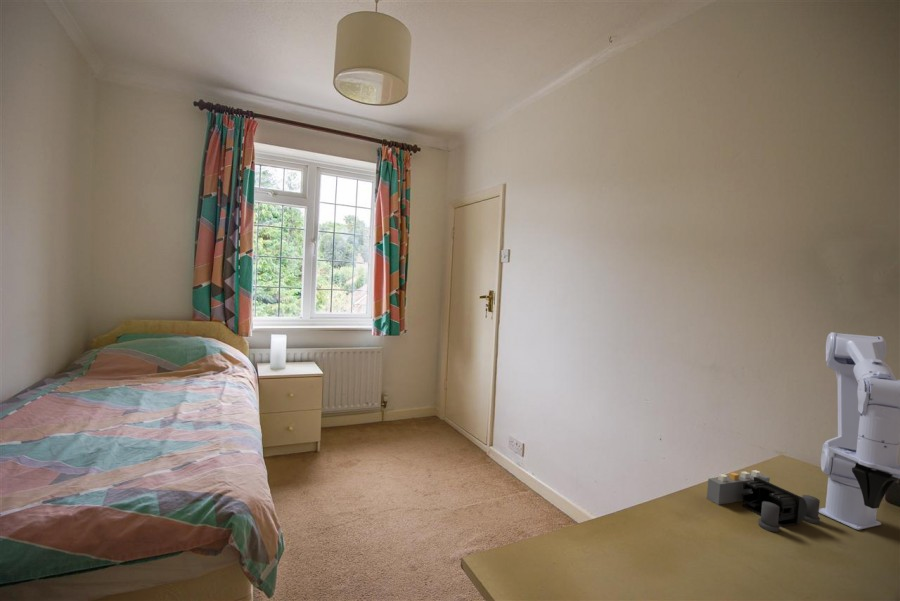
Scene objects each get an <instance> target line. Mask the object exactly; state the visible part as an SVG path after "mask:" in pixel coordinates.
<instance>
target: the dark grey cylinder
mask: <svg viewBox="0 0 900 601" xmlns="http://www.w3.org/2000/svg"><path fill="white" fill-rule="evenodd" d="M801 497H802V498H804V500H805V501H806V503H807V513H806V516H805V518H804V519H803V520H802V521H805V522H806V523H810V524H814V525H819V524H820V520H821V518H820V516H819V514H820V513H819V509H820V503H821V502H820V499H819V498H817V497H815V496H812V495H807V494H803V495H802V496H801Z"/></svg>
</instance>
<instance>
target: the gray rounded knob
mask: <svg viewBox="0 0 900 601" xmlns="http://www.w3.org/2000/svg"><path fill="white" fill-rule="evenodd" d="M779 509H780V507H779V506H778V505H776V504H774V503H771V502H766V501H763V502H762V510H761V516H760V518H759V519H758V523H757V524H758V526H759V527H760V528H762V529H763V530H766V531H768V532H771V533H779V532H780V528H781V527H780V526H779V525H778V519H779Z"/></svg>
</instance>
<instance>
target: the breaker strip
mask: <svg viewBox="0 0 900 601" xmlns="http://www.w3.org/2000/svg"><path fill="white" fill-rule="evenodd" d="M754 477H758V478H760V479H762V480H765V481H767V482H769V483H770V480H771V479H770V478H771V477H769V476H767V475H765V474H762V472H761V471H759V470H757V469H755V470H751V472H747V471H745V470H744V471H740V474H738V473H736V472H731V473H729V475H726V474H724V473H721V474H718V476H717V477H711V478H710V477H709V478H707V479H708V480H707V490H706V491H707V492H706V499H707V500H708V501H710V502H713V503H714V504H716V505H725V504H731V503H737V502H743V500H742V494H745V493H750V492H751V489H743V483H744V482H753V481H754Z"/></svg>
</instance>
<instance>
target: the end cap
mask: <svg viewBox="0 0 900 601" xmlns="http://www.w3.org/2000/svg"><path fill="white" fill-rule="evenodd" d="M743 489H751V492H750V493H745V494H742V500H743V501H742V502H743V503H742V507H743V508H745V509H747V510H748V511H750V512H753V513H754V514H756V515H758V516H759V517H761V510H762V502H763V501H766V502H771V503H774V504H776V505H778V506H779V507H780V509H779V519H778V525H779V526H780V528H787V527H795V526H796V525H797V524H800V523H801V522H802V521H804V520H803V519H804V518H805V516H806V513H807V503H806V501H805V500H804V498H802V496H799V495H798V494H796V493H793V492H791V491H789V490H786V489H784V488H783V487H780V486H779V485H775V484H774V483H772V482H770V481H769V482H767V481H765V480H762V479H760V478H758V477H754V481H753V482H744V483H743Z"/></svg>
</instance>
